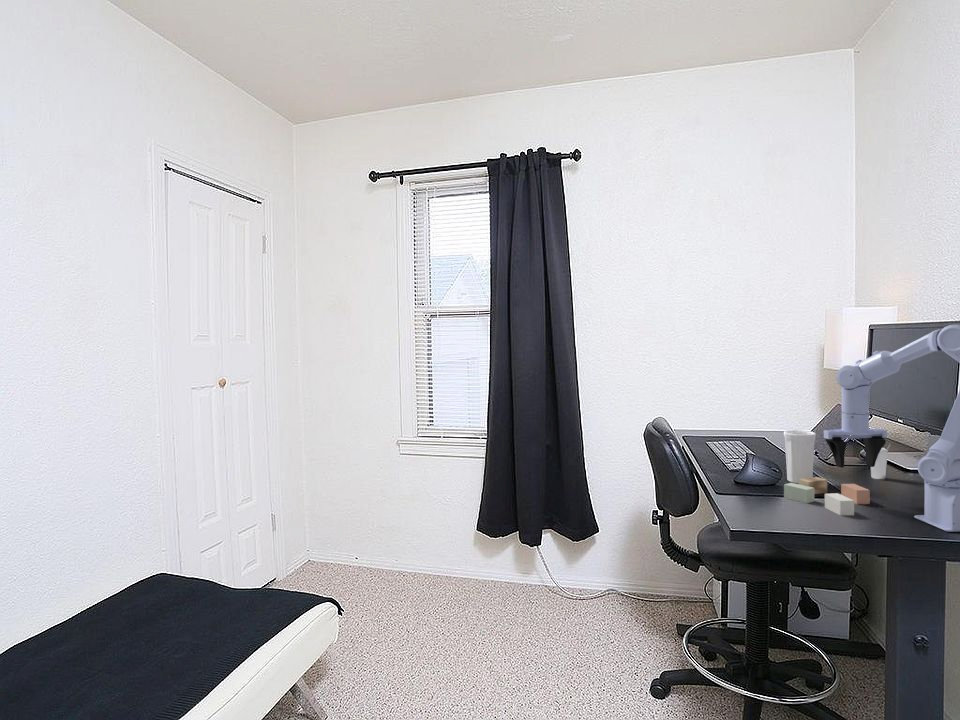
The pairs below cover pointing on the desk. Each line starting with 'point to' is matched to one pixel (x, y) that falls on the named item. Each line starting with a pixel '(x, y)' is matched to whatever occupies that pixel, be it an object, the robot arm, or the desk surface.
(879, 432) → the robot arm
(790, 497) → the sage brick
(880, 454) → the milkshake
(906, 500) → the desk surface
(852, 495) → the terracotta brick
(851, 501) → the cream brick
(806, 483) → the oak brick
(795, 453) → the cup
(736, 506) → the desk surface
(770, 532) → the desk surface
